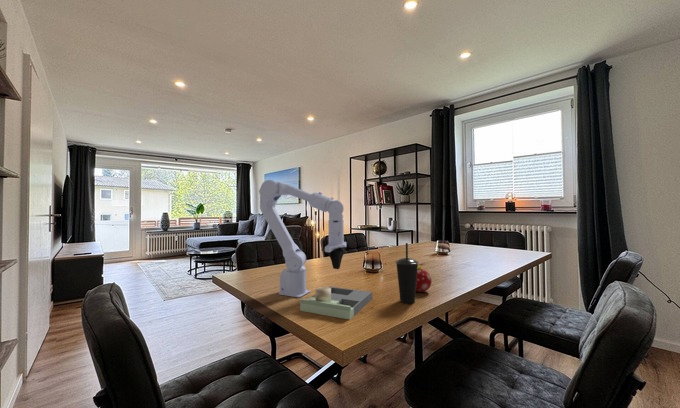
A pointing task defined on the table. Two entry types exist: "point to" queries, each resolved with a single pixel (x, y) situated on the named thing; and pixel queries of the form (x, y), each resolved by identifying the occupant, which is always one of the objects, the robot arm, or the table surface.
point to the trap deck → (338, 303)
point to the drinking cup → (407, 278)
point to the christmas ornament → (422, 280)
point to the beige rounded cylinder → (323, 294)
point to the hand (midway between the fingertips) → (336, 268)
